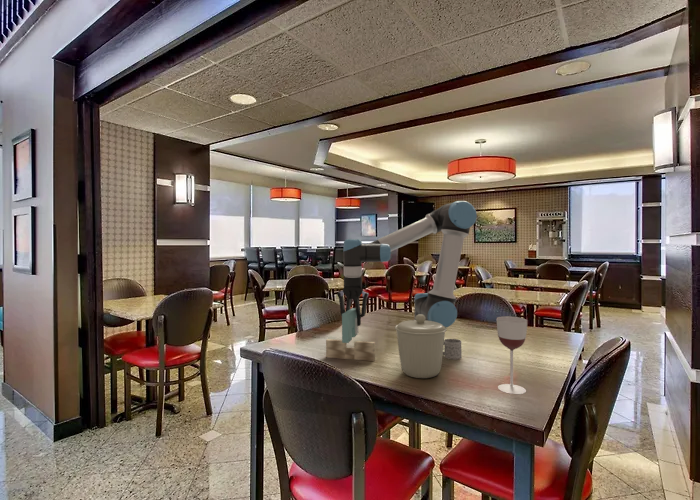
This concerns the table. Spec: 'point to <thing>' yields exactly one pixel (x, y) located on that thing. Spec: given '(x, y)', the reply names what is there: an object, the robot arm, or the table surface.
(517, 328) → the wineglass
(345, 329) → the teal slotted plate
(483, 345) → the table surface
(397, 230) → the robot arm
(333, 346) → the birch notched board
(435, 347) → the canister
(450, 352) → the mug
